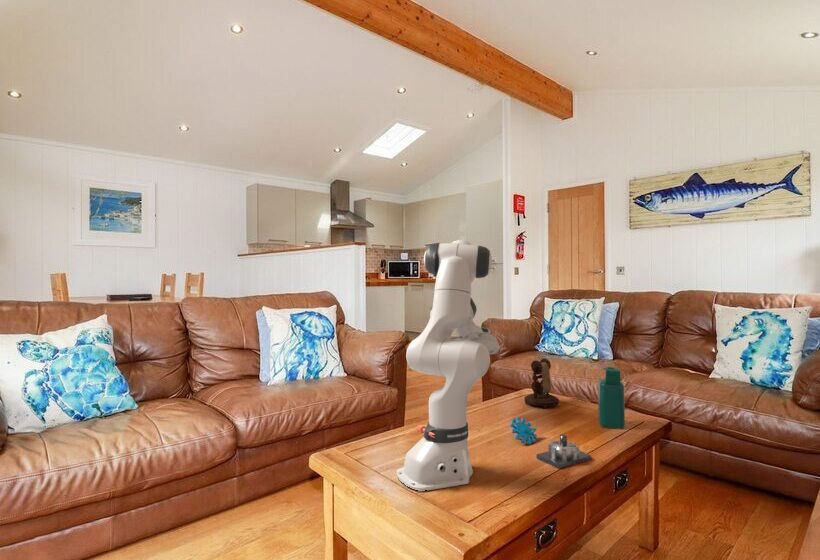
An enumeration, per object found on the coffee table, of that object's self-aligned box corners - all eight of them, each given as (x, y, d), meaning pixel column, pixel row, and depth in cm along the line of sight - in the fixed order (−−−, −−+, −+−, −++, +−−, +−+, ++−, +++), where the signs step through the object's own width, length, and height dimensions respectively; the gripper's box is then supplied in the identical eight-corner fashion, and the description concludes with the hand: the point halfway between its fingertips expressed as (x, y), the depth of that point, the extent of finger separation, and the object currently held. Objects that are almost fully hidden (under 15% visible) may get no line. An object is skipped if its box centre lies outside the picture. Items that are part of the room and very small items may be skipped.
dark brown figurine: (546, 411, 186) (546, 364, 186) (517, 404, 197) (517, 359, 197) (565, 404, 195) (565, 359, 195) (536, 397, 207) (536, 355, 207)
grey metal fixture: (558, 469, 131) (558, 444, 131) (536, 458, 138) (536, 435, 138) (591, 459, 137) (590, 436, 137) (568, 449, 145) (568, 427, 145)
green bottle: (597, 420, 173) (597, 364, 173) (621, 422, 171) (620, 365, 171) (601, 429, 164) (600, 369, 164) (626, 430, 162) (625, 370, 161)
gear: (519, 443, 147) (508, 416, 153) (510, 451, 150) (499, 424, 157) (544, 442, 152) (532, 415, 158) (535, 450, 155) (523, 424, 162)
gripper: (451, 332, 174) (466, 361, 165) (492, 328, 183) (508, 355, 175) (445, 342, 178) (459, 371, 169) (486, 338, 187) (501, 365, 179)
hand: (484, 363), depth 172 cm, fingers closed
